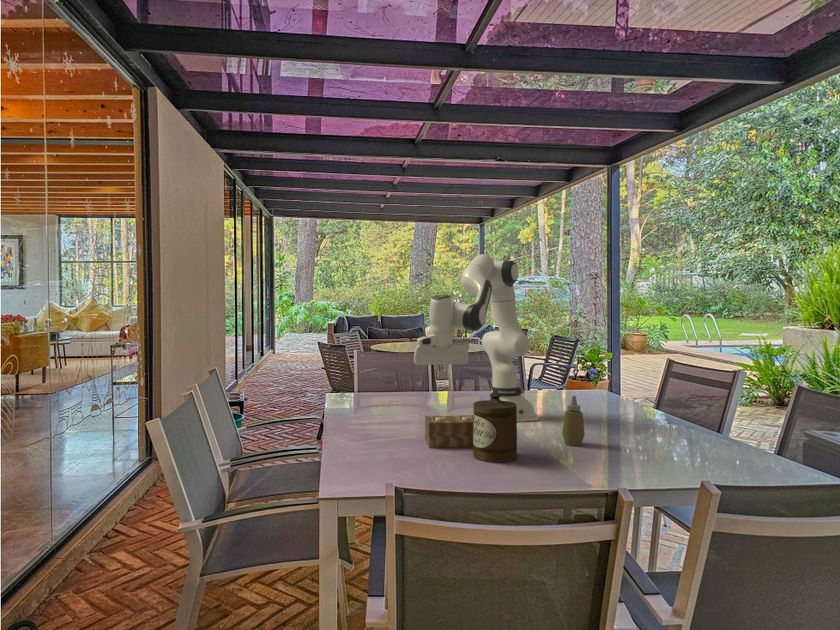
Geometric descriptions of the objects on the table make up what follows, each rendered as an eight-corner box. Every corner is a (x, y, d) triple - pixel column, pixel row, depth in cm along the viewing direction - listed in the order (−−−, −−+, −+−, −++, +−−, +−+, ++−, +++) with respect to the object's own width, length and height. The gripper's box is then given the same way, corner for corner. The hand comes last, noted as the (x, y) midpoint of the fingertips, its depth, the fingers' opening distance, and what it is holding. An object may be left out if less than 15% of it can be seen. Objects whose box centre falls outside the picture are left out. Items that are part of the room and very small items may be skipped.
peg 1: (445, 438, 217) (445, 416, 216) (446, 440, 213) (446, 419, 212) (434, 438, 216) (434, 417, 216) (435, 440, 212) (436, 419, 212)
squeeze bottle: (572, 447, 209) (573, 398, 209) (557, 442, 216) (558, 394, 216) (589, 445, 213) (590, 396, 212) (573, 440, 220) (574, 393, 220)
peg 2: (471, 437, 218) (471, 416, 217) (473, 440, 214) (473, 418, 213) (460, 437, 217) (461, 416, 217) (462, 440, 213) (462, 418, 213)
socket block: (476, 438, 222) (477, 415, 222) (483, 446, 210) (483, 421, 210) (425, 439, 220) (425, 415, 220) (429, 447, 208) (429, 422, 208)
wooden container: (465, 453, 201) (465, 390, 200) (502, 449, 207) (502, 387, 206) (486, 464, 188) (487, 397, 187) (525, 460, 193) (526, 394, 193)
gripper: (467, 338, 217) (467, 374, 218) (413, 338, 215) (413, 376, 216) (470, 339, 211) (470, 377, 212) (414, 340, 209) (415, 378, 209)
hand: (441, 376), depth 214 cm, fingers closed
